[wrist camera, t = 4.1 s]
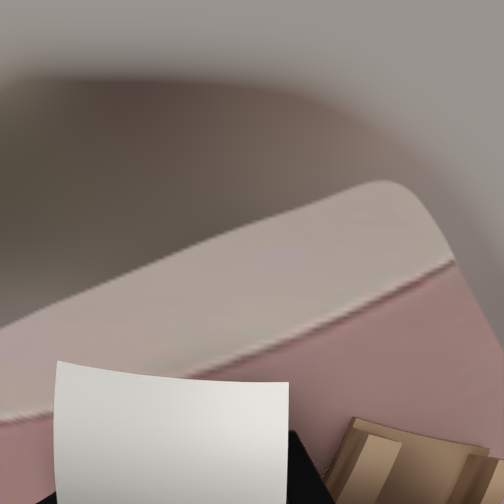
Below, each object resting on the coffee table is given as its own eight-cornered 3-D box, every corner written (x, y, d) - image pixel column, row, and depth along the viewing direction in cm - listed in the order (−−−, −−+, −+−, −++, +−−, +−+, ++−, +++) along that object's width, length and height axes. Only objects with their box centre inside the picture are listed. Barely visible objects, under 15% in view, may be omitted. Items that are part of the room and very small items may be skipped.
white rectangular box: (277, 496, 12) (273, 654, 2) (202, 491, 13) (81, 612, 2) (280, 389, 15) (288, 382, 4) (204, 387, 15) (55, 360, 4)
